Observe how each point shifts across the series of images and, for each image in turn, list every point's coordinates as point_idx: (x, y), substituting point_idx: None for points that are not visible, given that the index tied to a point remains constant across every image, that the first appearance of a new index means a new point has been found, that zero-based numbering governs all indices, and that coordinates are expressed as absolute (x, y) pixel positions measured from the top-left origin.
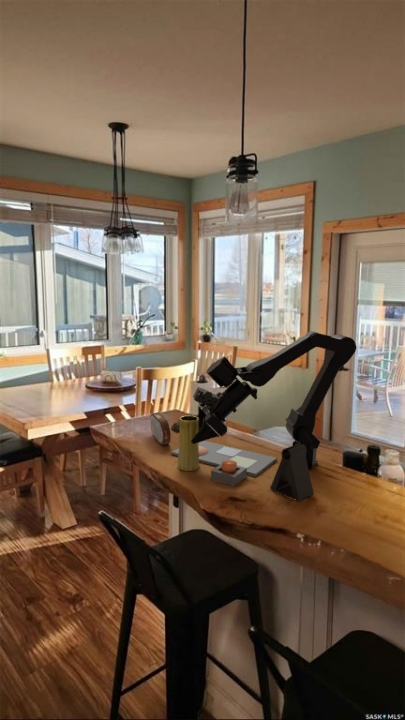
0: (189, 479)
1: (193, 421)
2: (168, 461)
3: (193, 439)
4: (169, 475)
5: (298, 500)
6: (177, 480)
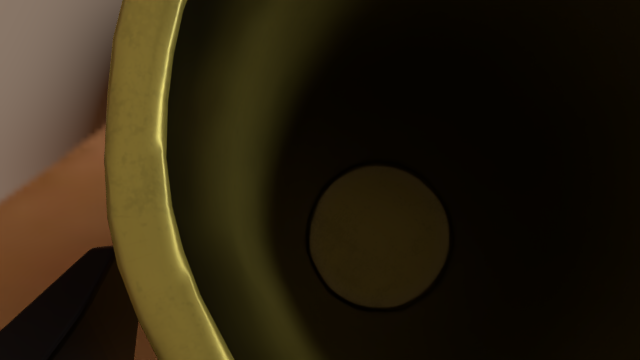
0: None
1: (165, 343)
2: None
3: (52, 297)
4: None
5: None
6: (98, 149)
